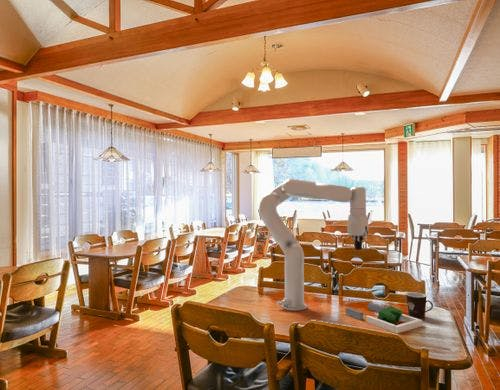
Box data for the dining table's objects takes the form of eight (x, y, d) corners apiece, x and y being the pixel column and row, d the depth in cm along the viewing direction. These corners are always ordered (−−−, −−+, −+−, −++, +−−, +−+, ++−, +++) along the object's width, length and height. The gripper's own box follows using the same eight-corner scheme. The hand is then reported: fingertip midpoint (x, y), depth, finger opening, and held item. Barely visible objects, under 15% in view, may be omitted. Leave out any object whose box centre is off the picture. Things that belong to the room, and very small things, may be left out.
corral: (397, 333, 146) (397, 327, 146) (366, 321, 160) (366, 316, 160) (422, 326, 154) (422, 320, 154) (390, 315, 168) (390, 310, 168)
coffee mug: (402, 314, 170) (402, 292, 170) (420, 313, 171) (420, 292, 171) (416, 322, 159) (415, 299, 159) (434, 321, 159) (434, 298, 159)
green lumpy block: (389, 336, 155) (390, 320, 151) (376, 329, 159) (377, 313, 155) (403, 319, 162) (404, 304, 158) (390, 313, 166) (391, 298, 162)
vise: (360, 320, 162) (360, 313, 163) (345, 314, 170) (345, 308, 170) (393, 311, 174) (393, 305, 174) (378, 306, 182) (378, 300, 182)
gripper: (341, 211, 184) (341, 248, 184) (364, 212, 171) (364, 251, 171) (352, 211, 188) (352, 247, 188) (375, 212, 175) (375, 250, 175)
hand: (358, 249), depth 180 cm, fingers closed
